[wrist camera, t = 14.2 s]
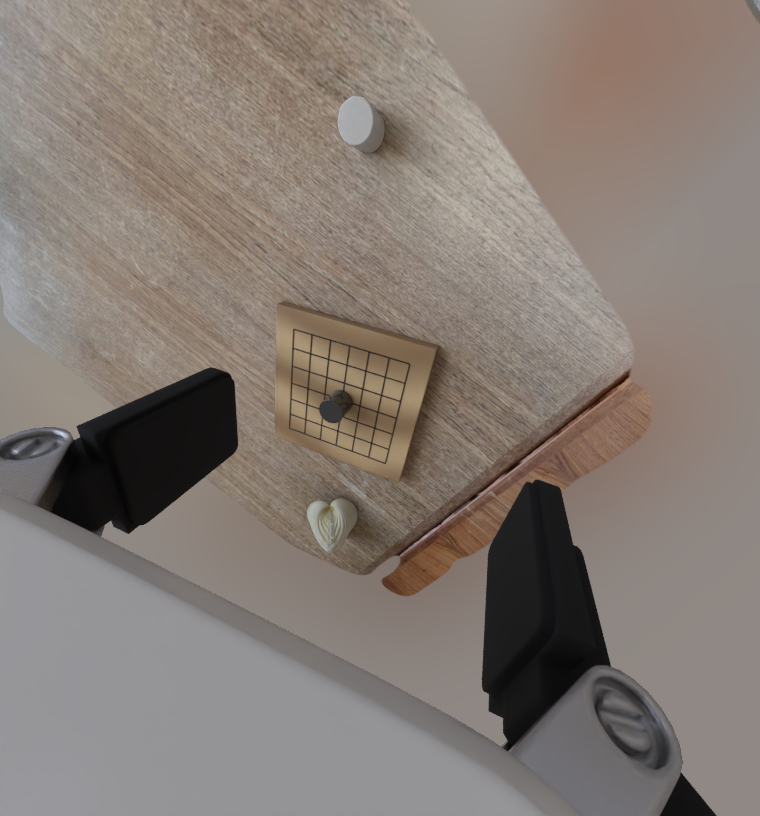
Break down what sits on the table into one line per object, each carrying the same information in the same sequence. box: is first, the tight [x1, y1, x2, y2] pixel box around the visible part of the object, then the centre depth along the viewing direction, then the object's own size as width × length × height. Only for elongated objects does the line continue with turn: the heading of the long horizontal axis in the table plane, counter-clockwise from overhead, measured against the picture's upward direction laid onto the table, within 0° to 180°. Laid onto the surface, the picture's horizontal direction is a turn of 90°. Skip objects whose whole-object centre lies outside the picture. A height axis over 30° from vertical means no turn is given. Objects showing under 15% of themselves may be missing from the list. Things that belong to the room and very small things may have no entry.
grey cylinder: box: [338, 96, 385, 153], centre depth 28 cm, size 3×3×3 cm
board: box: [275, 302, 439, 483], centre depth 43 cm, size 20×20×2 cm
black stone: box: [319, 390, 353, 423], centre depth 41 cm, size 3×3×3 cm
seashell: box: [307, 499, 358, 553], centre depth 52 cm, size 8×8×8 cm
